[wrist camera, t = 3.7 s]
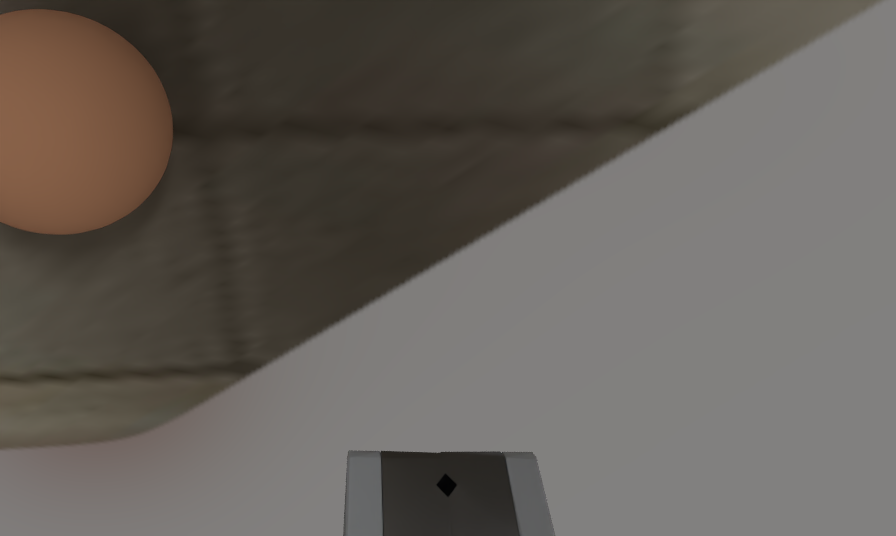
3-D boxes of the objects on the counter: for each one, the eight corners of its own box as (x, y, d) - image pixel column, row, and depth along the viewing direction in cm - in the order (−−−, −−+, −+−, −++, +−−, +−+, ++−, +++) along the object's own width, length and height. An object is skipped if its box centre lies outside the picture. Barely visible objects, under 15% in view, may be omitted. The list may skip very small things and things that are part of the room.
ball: (182, -9, 22) (130, 65, 17) (197, 176, 26) (158, 282, 21) (-42, -28, 21) (-163, 45, 16) (4, 165, 25) (-84, 273, 20)
